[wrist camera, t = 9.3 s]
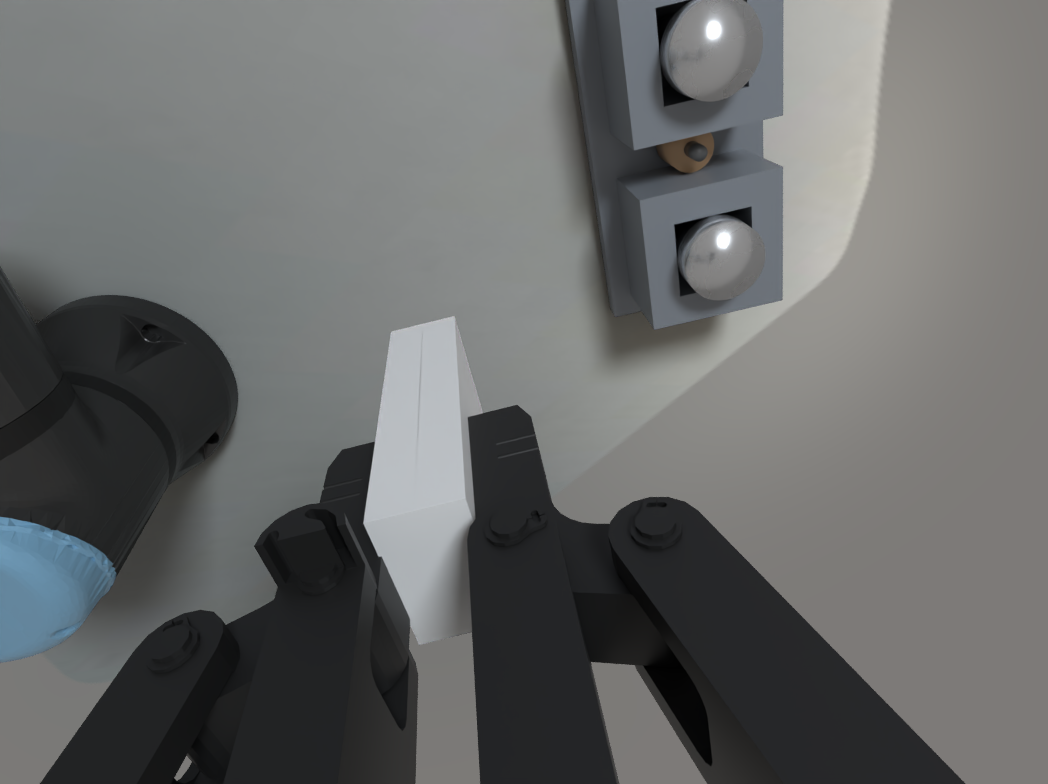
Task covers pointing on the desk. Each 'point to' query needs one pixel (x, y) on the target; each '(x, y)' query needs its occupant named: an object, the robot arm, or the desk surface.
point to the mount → (673, 157)
